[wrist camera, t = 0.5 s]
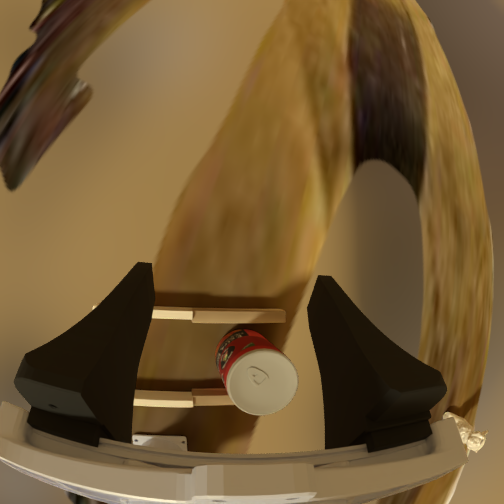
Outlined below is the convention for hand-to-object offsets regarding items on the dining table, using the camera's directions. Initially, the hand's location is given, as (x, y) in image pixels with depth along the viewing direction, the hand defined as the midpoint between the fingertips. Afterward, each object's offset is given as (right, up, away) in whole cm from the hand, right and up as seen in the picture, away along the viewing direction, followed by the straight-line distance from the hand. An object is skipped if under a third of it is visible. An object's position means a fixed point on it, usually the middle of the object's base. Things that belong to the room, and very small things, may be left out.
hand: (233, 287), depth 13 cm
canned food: (-1, -12, +28) cm, 30 cm away
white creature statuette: (+46, -39, +38) cm, 71 cm away
